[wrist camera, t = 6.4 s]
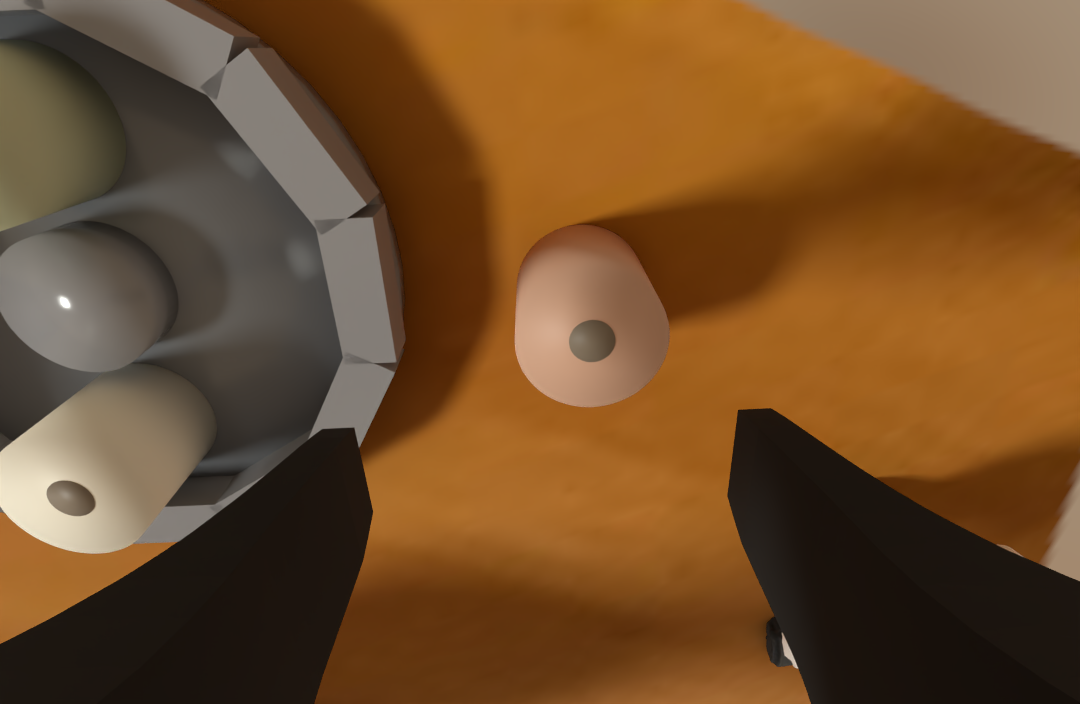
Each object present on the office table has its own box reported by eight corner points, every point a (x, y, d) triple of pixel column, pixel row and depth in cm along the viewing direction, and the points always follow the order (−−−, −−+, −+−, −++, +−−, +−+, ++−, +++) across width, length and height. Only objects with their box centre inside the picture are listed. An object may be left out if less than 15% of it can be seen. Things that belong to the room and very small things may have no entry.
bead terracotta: (640, 340, 20) (665, 404, 16) (520, 345, 20) (519, 410, 16) (645, 221, 18) (674, 263, 15) (513, 227, 18) (509, 271, 15)
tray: (434, 482, 22) (424, 530, 20) (-22, 502, 22) (-82, 552, 20) (353, -67, 15) (322, -87, 13) (-339, -37, 15) (-492, -52, 13)
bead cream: (232, 461, 21) (170, 548, 17) (118, 470, 21) (31, 559, 17) (192, 358, 19) (113, 431, 15) (67, 368, 19) (-41, 443, 15)
